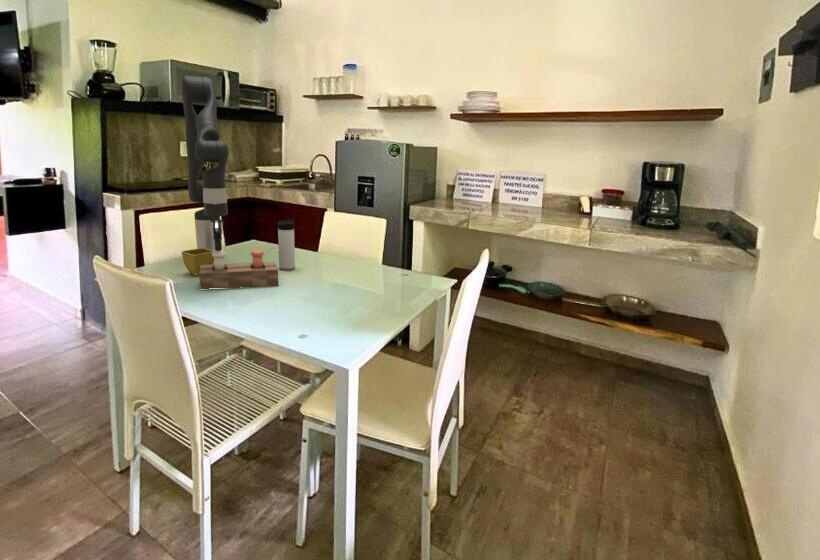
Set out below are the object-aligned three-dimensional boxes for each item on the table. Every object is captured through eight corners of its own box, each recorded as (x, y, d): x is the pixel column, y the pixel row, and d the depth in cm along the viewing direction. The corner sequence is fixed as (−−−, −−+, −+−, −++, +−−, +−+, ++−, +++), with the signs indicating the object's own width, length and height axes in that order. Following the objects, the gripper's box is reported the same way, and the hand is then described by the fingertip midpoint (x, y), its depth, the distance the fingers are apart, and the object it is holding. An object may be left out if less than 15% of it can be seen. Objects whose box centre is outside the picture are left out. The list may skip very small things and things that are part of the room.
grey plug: (213, 271, 174) (212, 251, 172) (226, 270, 175) (225, 251, 173) (213, 274, 170) (212, 254, 168) (226, 273, 171) (225, 253, 169)
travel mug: (297, 267, 201) (296, 219, 195) (291, 271, 194) (290, 222, 189) (282, 266, 201) (281, 218, 196) (276, 270, 195) (275, 221, 189)
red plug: (251, 269, 178) (250, 250, 176) (263, 268, 180) (263, 249, 178) (252, 272, 174) (251, 252, 172) (264, 271, 176) (264, 252, 174)
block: (201, 280, 177) (200, 265, 175) (275, 276, 186) (274, 261, 184) (200, 290, 166) (199, 273, 164) (278, 285, 175) (277, 269, 173)
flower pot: (195, 278, 179) (193, 254, 177) (182, 273, 184) (180, 250, 182) (216, 274, 186) (215, 251, 184) (204, 269, 191) (202, 247, 189)
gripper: (204, 198, 170) (207, 246, 175) (202, 203, 158) (206, 255, 163) (226, 198, 173) (229, 246, 177) (227, 203, 161) (230, 254, 166)
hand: (218, 250), depth 170 cm, fingers closed
